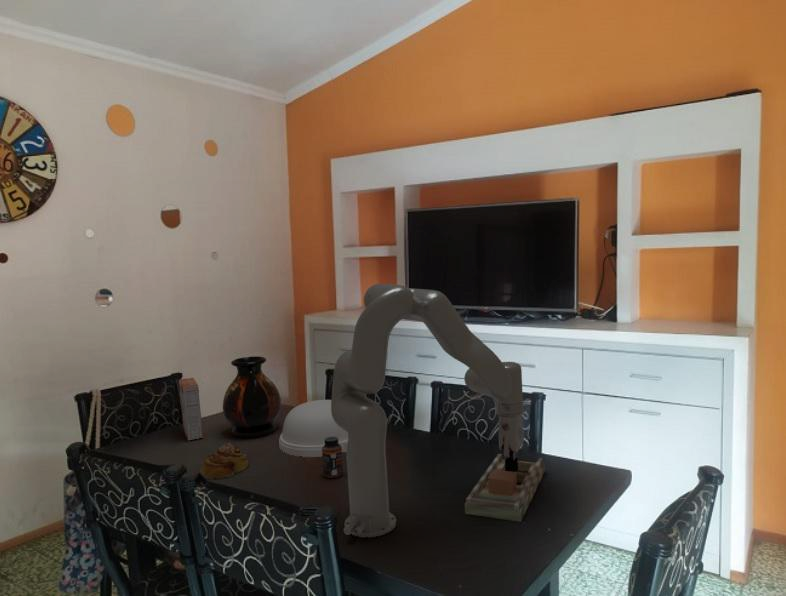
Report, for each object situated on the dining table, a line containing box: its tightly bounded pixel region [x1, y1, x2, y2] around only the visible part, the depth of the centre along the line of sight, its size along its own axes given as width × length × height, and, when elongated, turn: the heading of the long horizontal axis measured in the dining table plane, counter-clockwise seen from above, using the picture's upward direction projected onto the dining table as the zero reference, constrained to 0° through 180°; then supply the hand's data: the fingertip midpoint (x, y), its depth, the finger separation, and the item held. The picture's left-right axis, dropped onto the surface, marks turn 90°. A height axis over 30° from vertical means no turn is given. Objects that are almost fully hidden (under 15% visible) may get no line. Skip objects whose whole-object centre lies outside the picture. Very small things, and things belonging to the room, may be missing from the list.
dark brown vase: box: [222, 355, 282, 439], centre depth 222 cm, size 22×22×28 cm
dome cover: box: [278, 399, 348, 458], centre depth 207 cm, size 32×30×14 cm
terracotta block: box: [488, 470, 518, 496], centre depth 154 cm, size 6×6×4 cm
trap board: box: [464, 453, 546, 523], centre depth 159 cm, size 32×14×4 cm, turn 156°
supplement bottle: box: [321, 437, 344, 479], centre depth 176 cm, size 6×6×11 cm
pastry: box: [199, 442, 250, 478], centre depth 186 cm, size 13×15×8 cm
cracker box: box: [178, 377, 204, 441], centre depth 222 cm, size 14×6×21 cm, turn 25°
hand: (511, 471), depth 163 cm, fingers closed
